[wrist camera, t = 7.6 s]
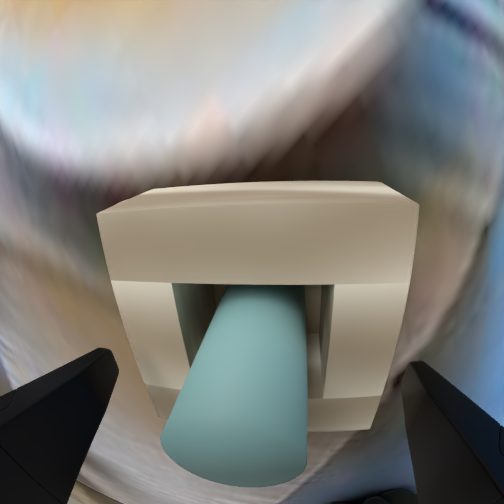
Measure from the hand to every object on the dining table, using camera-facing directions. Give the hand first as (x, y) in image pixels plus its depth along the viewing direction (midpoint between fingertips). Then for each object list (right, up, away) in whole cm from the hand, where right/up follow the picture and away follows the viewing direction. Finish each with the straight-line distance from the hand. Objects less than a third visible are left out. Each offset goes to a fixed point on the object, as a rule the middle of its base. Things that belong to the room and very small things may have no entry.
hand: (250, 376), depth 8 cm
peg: (+1, +2, +5) cm, 5 cm away
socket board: (0, +1, +7) cm, 7 cm away
